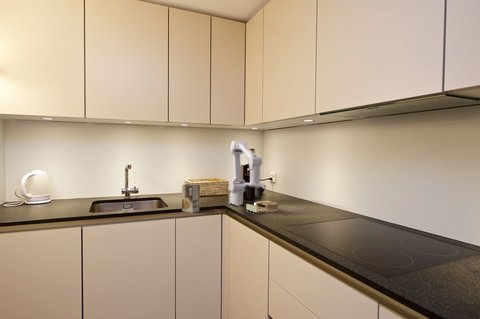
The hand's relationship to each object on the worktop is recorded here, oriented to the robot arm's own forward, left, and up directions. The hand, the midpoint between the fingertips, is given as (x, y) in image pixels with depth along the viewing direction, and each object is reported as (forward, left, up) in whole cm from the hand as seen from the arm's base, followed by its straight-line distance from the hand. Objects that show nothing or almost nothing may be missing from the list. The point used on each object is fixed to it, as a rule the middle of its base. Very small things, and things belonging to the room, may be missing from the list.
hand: (254, 198), depth 168 cm
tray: (0, +2, -8) cm, 9 cm away
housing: (0, +11, -8) cm, 13 cm away
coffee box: (-23, -31, -9) cm, 40 cm away
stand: (-10, +10, -8) cm, 16 cm away
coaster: (0, +3, -7) cm, 8 cm away
